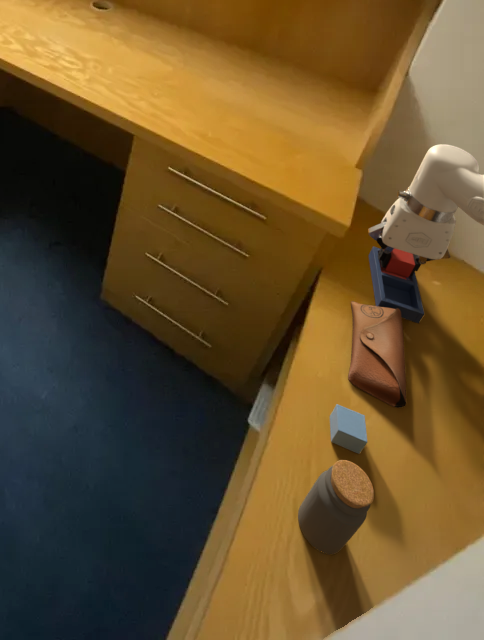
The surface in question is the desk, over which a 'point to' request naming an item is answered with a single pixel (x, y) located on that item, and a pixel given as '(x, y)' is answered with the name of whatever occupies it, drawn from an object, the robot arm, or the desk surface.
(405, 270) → the red block
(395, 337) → the sunglasses case
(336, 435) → the blue block
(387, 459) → the desk surface
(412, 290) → the tray
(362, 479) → the bottle
